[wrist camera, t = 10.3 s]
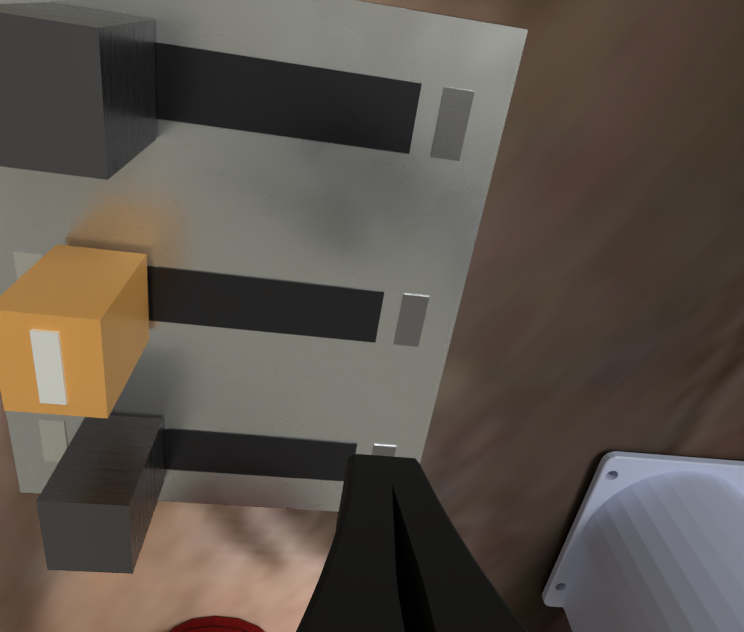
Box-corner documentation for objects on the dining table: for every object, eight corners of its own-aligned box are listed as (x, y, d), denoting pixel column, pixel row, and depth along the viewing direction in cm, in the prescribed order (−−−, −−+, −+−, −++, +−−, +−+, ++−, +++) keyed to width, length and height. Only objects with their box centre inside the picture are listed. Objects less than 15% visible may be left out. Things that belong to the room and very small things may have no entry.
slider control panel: (401, 478, 24) (420, 608, 19) (44, 453, 23) (-41, 589, 17) (506, 25, 16) (587, 41, 11) (-33, -67, 15) (-233, -99, 9)
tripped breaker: (149, 339, 18) (106, 421, 14) (66, 331, 18) (2, 413, 14) (146, 254, 16) (98, 322, 13) (56, 244, 16) (-17, 311, 13)
